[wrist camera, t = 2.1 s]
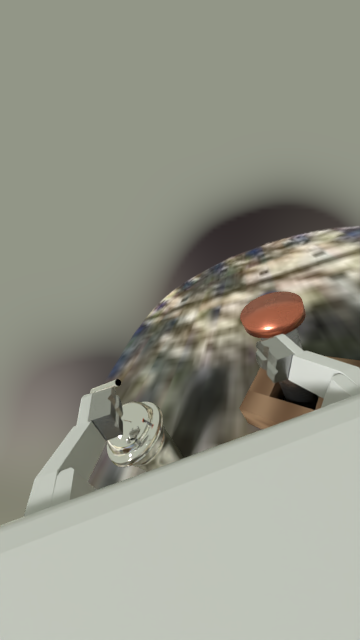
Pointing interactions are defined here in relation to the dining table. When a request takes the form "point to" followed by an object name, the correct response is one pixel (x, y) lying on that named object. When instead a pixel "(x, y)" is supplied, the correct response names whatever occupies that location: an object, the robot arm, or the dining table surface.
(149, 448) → the cup with straw
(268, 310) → the peg
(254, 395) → the collar
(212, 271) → the dining table surface
